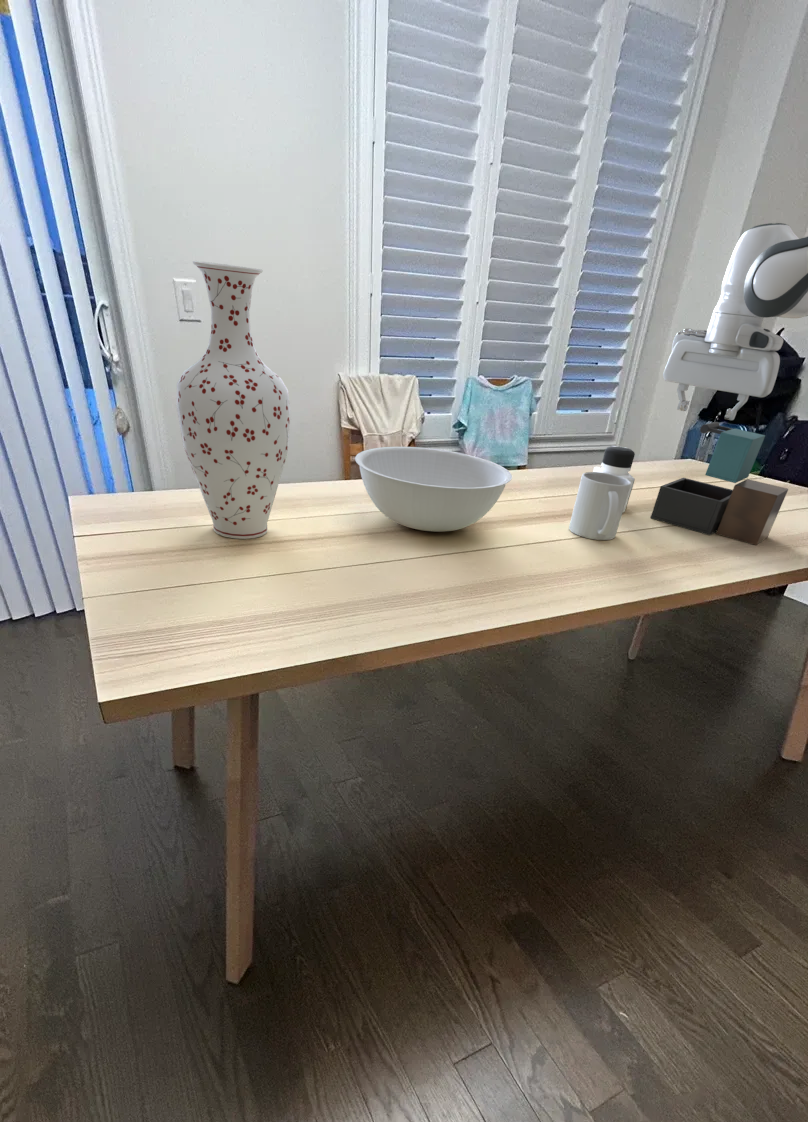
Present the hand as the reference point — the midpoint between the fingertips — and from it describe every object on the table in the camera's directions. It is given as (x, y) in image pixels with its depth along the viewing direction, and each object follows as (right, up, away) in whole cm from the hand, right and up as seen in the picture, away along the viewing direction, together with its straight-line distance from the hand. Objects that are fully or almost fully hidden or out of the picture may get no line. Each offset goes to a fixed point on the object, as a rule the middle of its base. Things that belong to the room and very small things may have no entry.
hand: (704, 414), depth 126 cm
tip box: (+8, -9, -2) cm, 13 cm away
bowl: (-56, -25, -10) cm, 62 cm away
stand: (+10, -23, +4) cm, 25 cm away
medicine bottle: (-16, -14, +12) cm, 25 cm away
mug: (-24, -25, -6) cm, 36 cm away
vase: (-86, -30, -23) cm, 94 cm away
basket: (+1, -18, +9) cm, 20 cm away
